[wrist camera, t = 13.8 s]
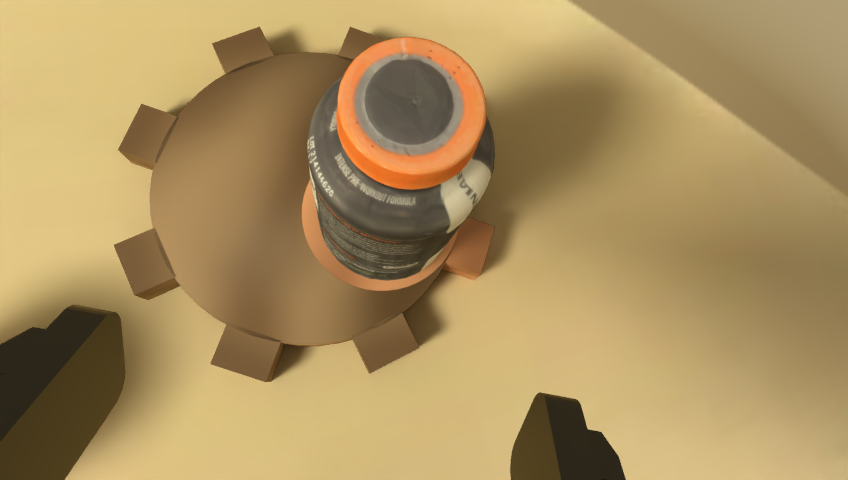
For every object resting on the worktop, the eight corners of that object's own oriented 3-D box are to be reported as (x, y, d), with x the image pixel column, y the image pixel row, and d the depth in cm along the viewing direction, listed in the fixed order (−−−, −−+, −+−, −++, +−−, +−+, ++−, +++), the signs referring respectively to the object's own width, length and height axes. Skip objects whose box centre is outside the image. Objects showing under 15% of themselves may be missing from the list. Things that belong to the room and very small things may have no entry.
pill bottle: (474, 238, 26) (568, 139, 15) (365, 308, 24) (381, 257, 13) (403, 134, 26) (443, -33, 15) (293, 196, 25) (252, 61, 14)
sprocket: (525, 107, 30) (535, 91, 28) (427, 432, 25) (432, 437, 23) (215, -4, 29) (206, -28, 27) (57, 311, 24) (34, 306, 23)
